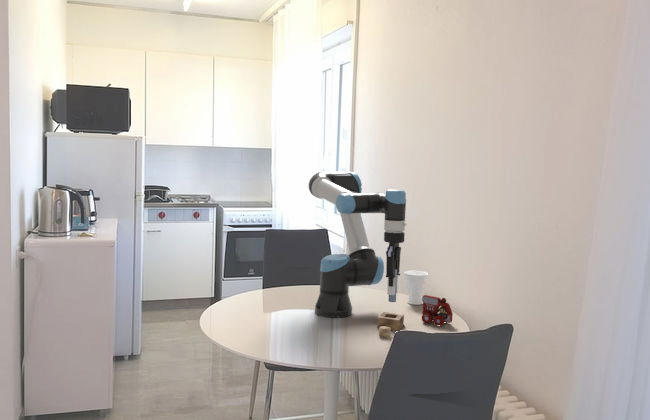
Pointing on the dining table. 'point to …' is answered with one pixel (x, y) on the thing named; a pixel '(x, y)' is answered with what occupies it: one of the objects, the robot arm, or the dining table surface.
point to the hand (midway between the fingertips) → (392, 293)
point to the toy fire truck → (436, 310)
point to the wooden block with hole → (391, 320)
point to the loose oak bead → (384, 332)
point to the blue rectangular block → (393, 297)
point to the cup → (415, 285)
